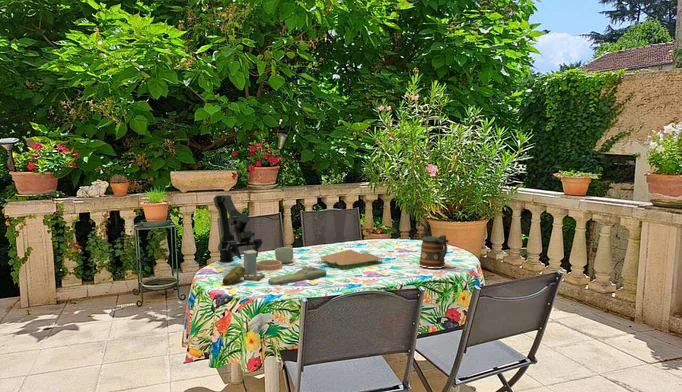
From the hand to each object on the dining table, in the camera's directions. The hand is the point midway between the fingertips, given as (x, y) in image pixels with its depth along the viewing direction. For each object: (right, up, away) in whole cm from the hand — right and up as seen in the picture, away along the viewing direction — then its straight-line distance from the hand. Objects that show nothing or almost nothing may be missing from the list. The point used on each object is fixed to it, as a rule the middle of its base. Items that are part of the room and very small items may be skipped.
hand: (249, 257), depth 264 cm
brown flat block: (+54, -7, +29) cm, 61 cm away
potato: (-5, -11, -16) cm, 20 cm away
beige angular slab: (+3, -9, -10) cm, 14 cm away
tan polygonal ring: (+8, -7, +14) cm, 18 cm away
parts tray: (+4, -10, -9) cm, 14 cm away
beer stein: (+102, -8, +21) cm, 105 cm away
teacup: (+16, -6, +30) cm, 34 cm away
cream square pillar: (+1, -9, 0) cm, 9 cm away
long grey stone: (+27, -11, -8) cm, 30 cm away
